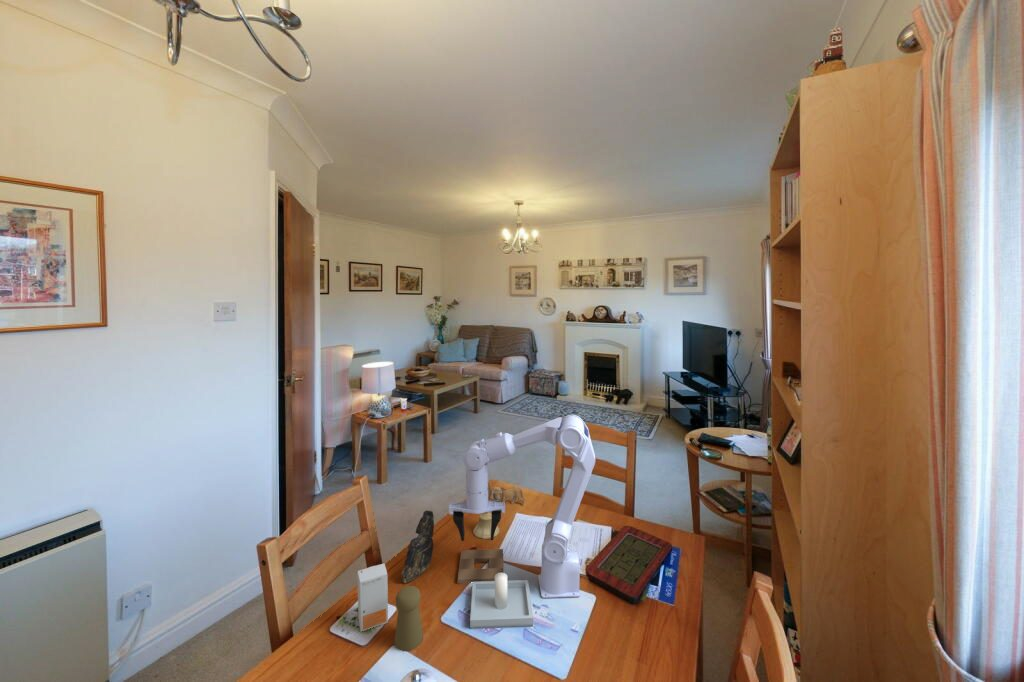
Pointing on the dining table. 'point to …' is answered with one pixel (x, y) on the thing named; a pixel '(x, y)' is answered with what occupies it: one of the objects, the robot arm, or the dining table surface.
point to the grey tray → (511, 616)
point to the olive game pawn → (408, 619)
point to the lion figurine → (506, 494)
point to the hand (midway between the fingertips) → (477, 538)
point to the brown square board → (477, 556)
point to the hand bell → (485, 523)
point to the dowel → (500, 590)
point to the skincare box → (372, 597)
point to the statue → (420, 549)
